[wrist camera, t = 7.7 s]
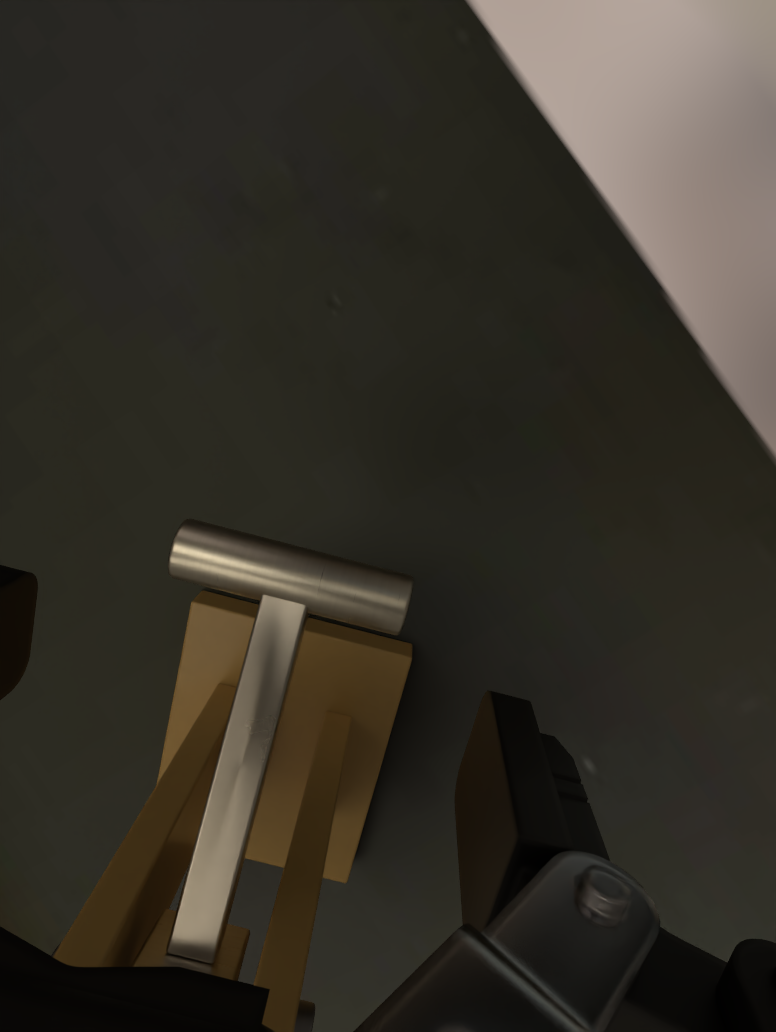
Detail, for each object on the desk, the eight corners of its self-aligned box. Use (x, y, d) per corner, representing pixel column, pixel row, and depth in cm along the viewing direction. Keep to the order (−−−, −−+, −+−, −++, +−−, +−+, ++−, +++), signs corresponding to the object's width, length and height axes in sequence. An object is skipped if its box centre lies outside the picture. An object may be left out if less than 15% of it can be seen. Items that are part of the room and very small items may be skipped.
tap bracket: (201, 589, 24) (-30, 844, 12) (413, 643, 24) (404, 952, 12) (158, 813, 27) (-70, 1218, 14) (350, 861, 27) (289, 1304, 14)
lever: (200, 519, 17) (171, 514, 14) (411, 574, 17) (417, 578, 14) (65, 1006, 16) (11, 1087, 13) (287, 1061, 16) (272, 1149, 14)
